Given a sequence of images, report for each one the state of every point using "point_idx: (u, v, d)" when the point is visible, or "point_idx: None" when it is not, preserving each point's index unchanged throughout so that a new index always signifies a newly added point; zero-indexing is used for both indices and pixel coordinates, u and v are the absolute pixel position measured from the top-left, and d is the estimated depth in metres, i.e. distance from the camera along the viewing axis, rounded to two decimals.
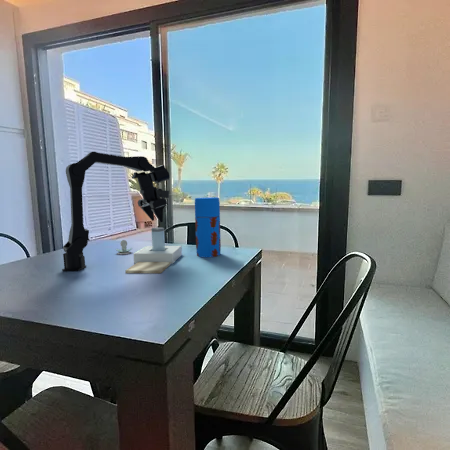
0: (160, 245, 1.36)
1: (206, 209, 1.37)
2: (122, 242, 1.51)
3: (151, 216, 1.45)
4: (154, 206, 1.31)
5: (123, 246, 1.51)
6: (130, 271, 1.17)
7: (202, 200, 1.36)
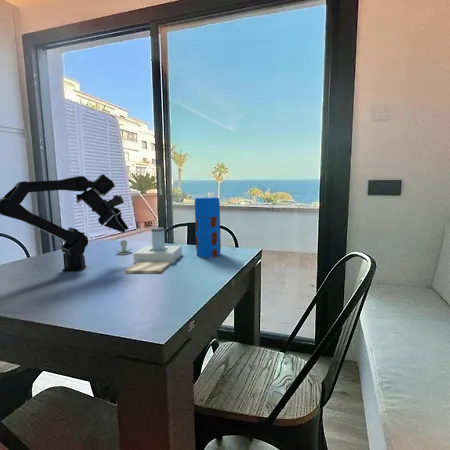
0: (160, 245, 1.36)
1: (206, 209, 1.37)
2: (122, 242, 1.51)
3: (123, 226, 1.35)
4: (101, 223, 1.20)
5: (123, 246, 1.51)
6: (130, 271, 1.17)
7: (202, 200, 1.36)
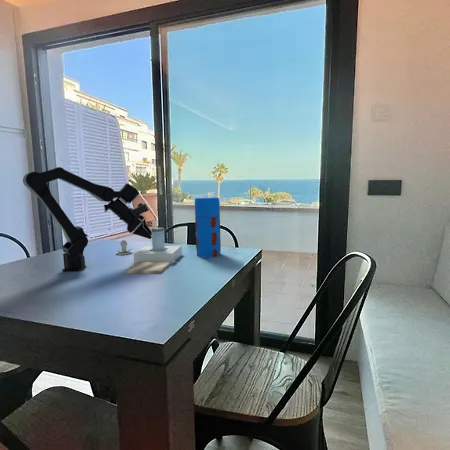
0: (160, 245, 1.36)
1: (206, 209, 1.37)
2: (122, 242, 1.51)
3: (148, 232, 1.41)
4: (130, 231, 1.26)
5: (123, 246, 1.51)
6: (130, 271, 1.17)
7: (202, 200, 1.36)
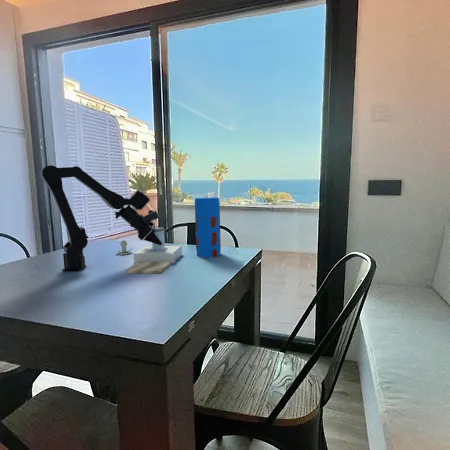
0: (160, 245, 1.36)
1: (206, 209, 1.37)
2: (122, 242, 1.51)
3: None
4: (141, 238, 1.27)
5: (123, 246, 1.51)
6: (130, 271, 1.17)
7: (202, 200, 1.36)
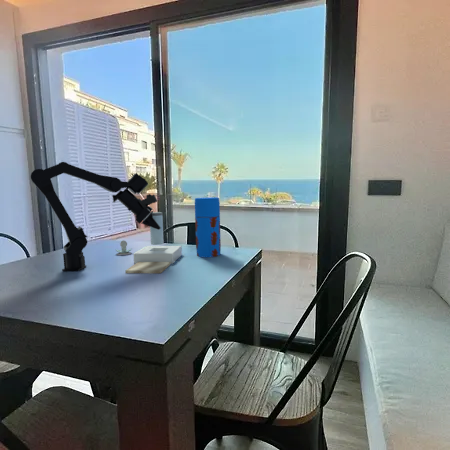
0: (159, 229, 1.33)
1: (206, 209, 1.37)
2: (122, 243, 1.50)
3: None
4: (138, 222, 1.25)
5: (123, 247, 1.50)
6: (130, 271, 1.17)
7: (202, 200, 1.36)
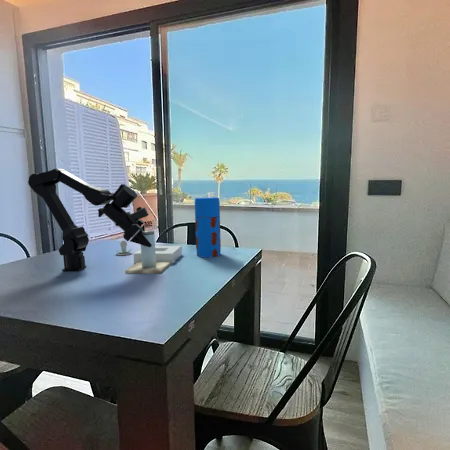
0: (150, 250, 1.20)
1: (206, 209, 1.37)
2: (122, 243, 1.50)
3: None
4: (126, 239, 1.11)
5: (123, 247, 1.50)
6: (130, 271, 1.17)
7: (202, 200, 1.36)
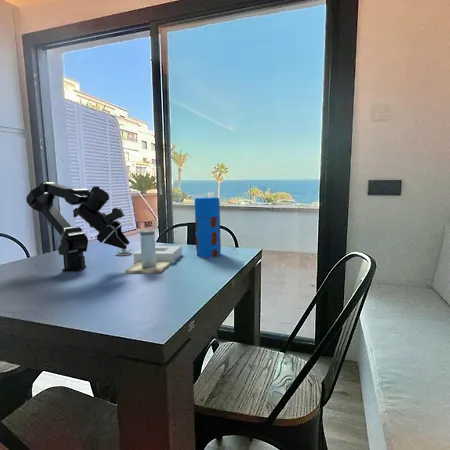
0: (150, 251, 1.20)
1: (206, 209, 1.37)
2: None
3: (124, 240, 1.24)
4: (100, 241, 1.10)
5: None
6: (130, 271, 1.17)
7: (202, 200, 1.36)
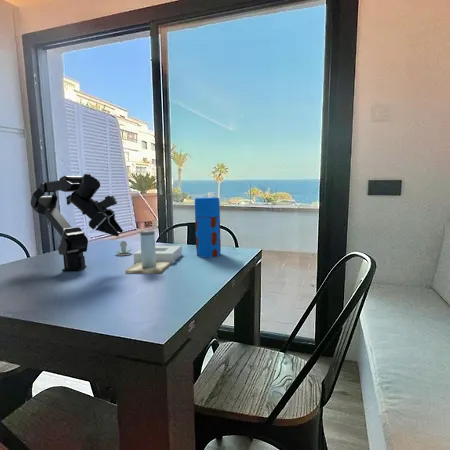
0: (150, 251, 1.20)
1: (206, 209, 1.37)
2: (122, 243, 1.49)
3: (117, 229, 1.24)
4: (92, 227, 1.10)
5: (123, 247, 1.49)
6: (130, 271, 1.17)
7: (202, 200, 1.36)
